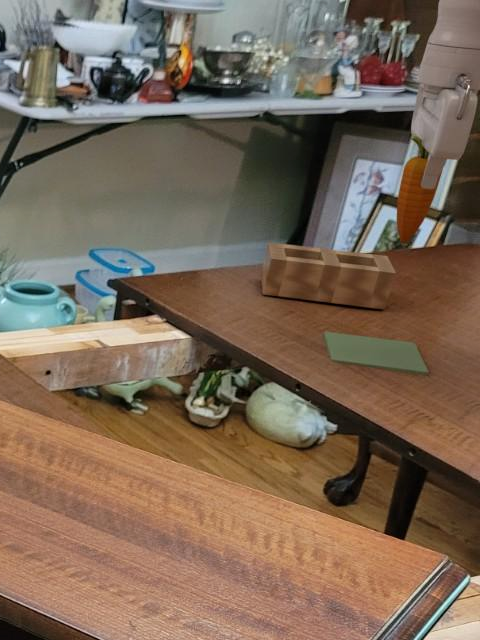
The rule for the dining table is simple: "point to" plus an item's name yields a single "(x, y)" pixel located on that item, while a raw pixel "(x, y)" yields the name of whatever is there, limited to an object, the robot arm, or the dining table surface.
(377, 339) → the mat
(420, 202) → the carrot
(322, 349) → the dining table surface
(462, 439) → the dining table surface
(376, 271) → the rack
